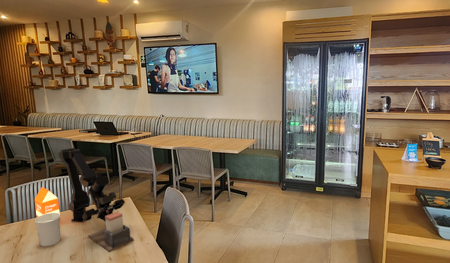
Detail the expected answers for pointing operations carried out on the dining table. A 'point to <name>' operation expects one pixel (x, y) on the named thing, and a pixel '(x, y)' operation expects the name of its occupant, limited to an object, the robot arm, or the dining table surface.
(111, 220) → the switch lever
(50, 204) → the orange juice
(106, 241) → the switch base
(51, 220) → the white cup
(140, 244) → the dining table surface
